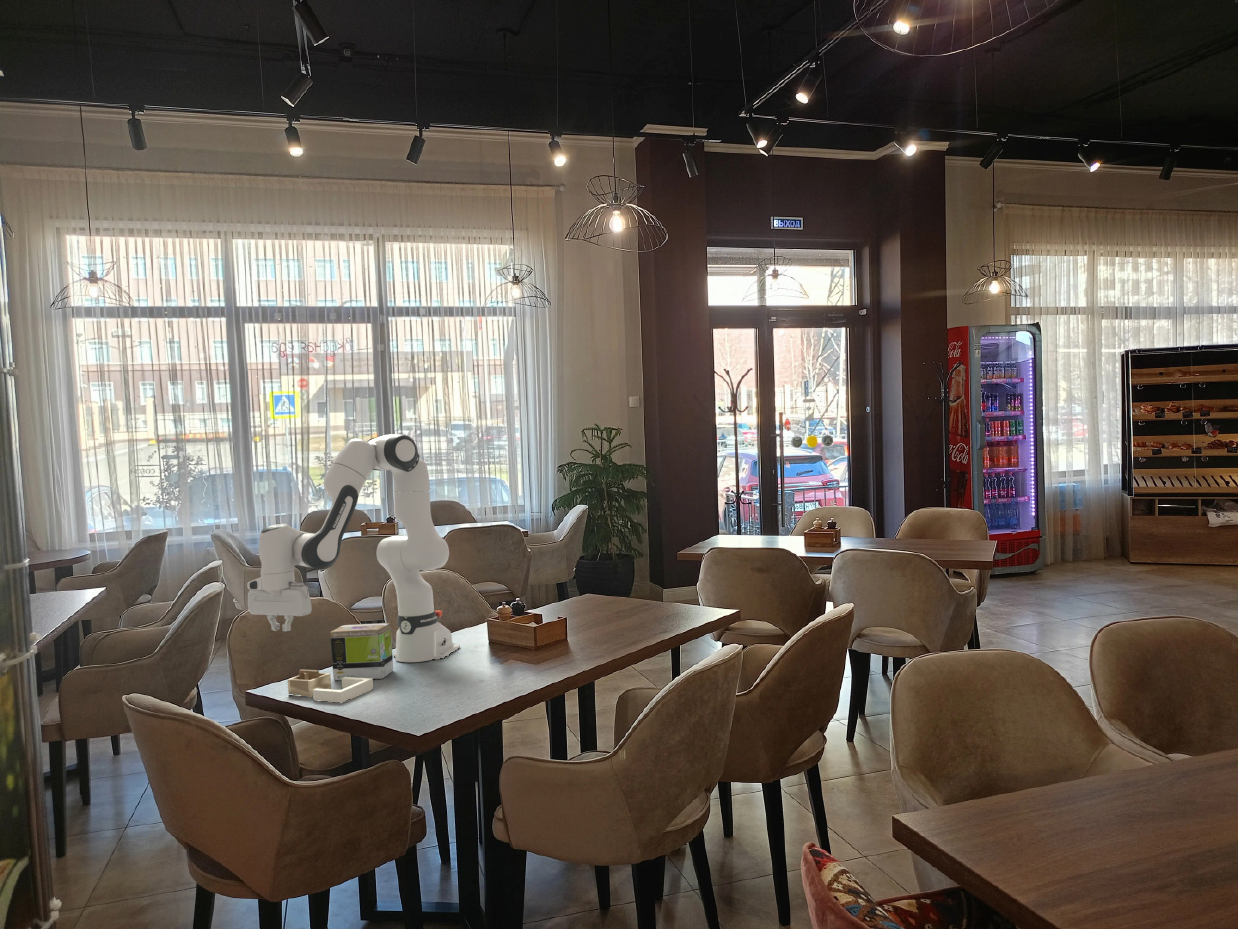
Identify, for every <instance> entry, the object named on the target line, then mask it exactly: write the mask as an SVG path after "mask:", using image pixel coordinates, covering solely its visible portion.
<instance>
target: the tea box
mask: <svg viewBox="0 0 1238 929" xmlns="http://www.w3.org/2000/svg"><path fill="white" fill-rule="evenodd" d="M391 632H392V631H391V623H390V622H383V623H382V622H381V623H360V624H344V625H341V626H339V627H337V628H336V629H333V630H332V631H330V632H329V634H330V635H329V636H330V637H329V639H330V649H331V664H332V674H333V681H342V678H343V677H357V678H371V679H373V680H376V679H378V680H379V679H382V680H383V679H384V678H385V677H386V676H389V674H390V673H392V672H393V671H394V660H393V659H394V654H393V646H392V644H393V643H392V633H391Z"/></svg>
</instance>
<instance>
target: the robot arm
mask: <svg viewBox="0 0 1238 929" xmlns="http://www.w3.org/2000/svg"><path fill="white" fill-rule="evenodd" d="M372 471H390V472H391V473H392V476H393V480H394V490H393V492H394V493H393V494H394V516H395V518H396V520H398V521H399V522H400V523H401V524H402V525H403V527H404V528H405V529H404V530H405V531H406V535H405V534H403V535H397V534H396V535H393V536H388V537H386V538H383V539H381V540H380V542H379V543H378V544H377V548H376V559H377V561H378V563H379V564H380V565H381V566H382V567H383V568H384V569H385V570H386V571H387V573H388V575H389V576H390V577H391V580H392V582H393V585H394V587H395V592H396V601H397V611H398V612H397V613H398V614H397V615H396V623H397V627H398V629H397V630H396V635H395V636H396V637H395V638H396V639H395V652H394V653H393V657H394V656H395V657H394V658H395V660H396V661H397V662H401V663H420V662H427V661H433V660H432V659H435V660H441V659H440V658H443V659H445V658H446V657H445V656H447V657H448V656H450V655H451V654H452V653H451V652H453V651H454V650H456V651H457V650H459V649H460V648H461V645H460V644H458V643H453V637H452V632H451V631H450V629H448V628H447V627H446V626H444V625H442V623H441V622H439V619H438V617H439V618H441V617H442V616H443V612H442V610H435V609H434V607H435V606H434V593H433V590H434V589H433V587H432V585H431V584H430V583H429V582H427V581H426V580H425V579H424V578H423V576H422V574H421V572H420V571H431V570H437V569H441V568H443V567H444V566H445V565H446V563H447V562H448V560H449V557H450V548H449V545H448V543H447V541H446V539H444V538H443V537H441V535H440V534H439V533H438V531H437V529H436V527H435V525H434V522H433V519H432V512H431V489H430V488H431V486H430V485H431V484H430V475H429V470H428V465H427V463H426V461H424V459H422V458H420V454H419V450H418V446H417V444H416V442H415V441H414V439H413V438H412V437H410V436H409V435H406V434H402V433H393V434H390V433H389V434H383V435H381V436H378V437H377V436H376V437H371V438H370V439H368V440H365V439H362V438H352V439H350V440H349V441H348V442H346V444H345V445H344V446H343V447H342V448H341V450H340V451H339V452H338V454H337V455H336V457H335V458H334V460H333V461H332V463H331V465H330V467H329V468H328V470H327V472H326V474H325V477H324V481H323V486H324V490H325V491H326V493H327V495H328V496H329V497H330V499H331V507H330V509H329V510H328V513H327V516H326V517H325V520H324V522H323V524H322V526H321V528H320V529H319V530H318V531H317V532H315V533H312V532H306V531H302V530H299V529H296V528H294V527H292V526H290V525H289V524H288V523H285V522H284V523H278V524H277V523H276V524H271V525H268V526H267V527H265V528H263V529H261V531H260V534H259V538H258V539H259V542H258V554H259V560H260V564H261V568H260V577H258V578H255V579H252V580H250V581H248V582H247V583H246V584H247V585H246V587H247V589H248V593H247V609H248V612H249V614H251V615H261V616H263V615H264V616H266V618H267V620H268V622H269V624H270V625H271V626H270V627H271V631H275V632H277V631H279V630H280V629H281V627H280V626H282V632H289V631H291V630H292V622H293V621H294V617H304V616H305V617H306V616H307V615H310V614H311V613H312V610H313V608H312V602H311V600H312V599H311V597H310V593H309V587H308V586H307V584H305V583H304V582H301V581H299V582H296V580H295V579H296V577H295V567H296V566H302V567H306V568H312V569H315V570H318V571H322V570H323V571H324V570H327V569H330V568H331V567H332V566H334V565H335V563H336V562H337V560H339V556H340V553H341V547H342V546H341V545H342V540H343V538H344V534H345V532H346V530H347V528H348V525H349V524H350V522H351V519H352V516H353V515H354V511H355V509H356V507H357V504H358V501H359V496H360V494H361V490H362V489H363V486H364V484H365V483H366V481H367V480H368V477H369V475H370V473H371V472H372ZM278 616H283V617H284V620H285V621H284V623H283V624H282V625H281V623H279V622H278V621H277V617H278ZM459 647H460V648H459ZM458 648H459V649H458ZM454 652H455V651H454ZM454 652H453V653H454ZM450 653H451V654H450ZM449 654H450V655H449ZM444 657H445V658H444Z"/></svg>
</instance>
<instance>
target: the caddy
mask: <svg viewBox="0 0 1238 929" xmlns="http://www.w3.org/2000/svg"><path fill="white" fill-rule="evenodd" d="M331 678H332V676H331V673H330V672H320V671H319V670H316V669H299V671H298V675H296V676H293V677H291V678H289V679H287V691H288V693H287V694H293V695H301V696H308V697H307V698H313V697H312V696H313V690H314V689H316V688H319V689H332V679H331Z"/></svg>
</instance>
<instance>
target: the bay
mask: <svg viewBox="0 0 1238 929" xmlns="http://www.w3.org/2000/svg"><path fill="white" fill-rule="evenodd" d="M373 682H374V679H371V678H357V677H343V678H342V680H341V689H332V688H331V689H319V688H316V689H314V690H313V697H312V698H313V699H314V700H321V701H328V702H327V703H332V702H341V703H340V704H343V703H342V702H344V701H346V700H348V699H350V700H353V699H354V698H357V697H358V696H361V695H363V693H364V694H366V693H368V692H370V691H372V689H373V690H374V683H373ZM342 688H344V689H342ZM329 701H330V702H329ZM331 701H332V702H331ZM348 701H349V700H348ZM346 702H347V701H346ZM344 703H345V702H344Z"/></svg>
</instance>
